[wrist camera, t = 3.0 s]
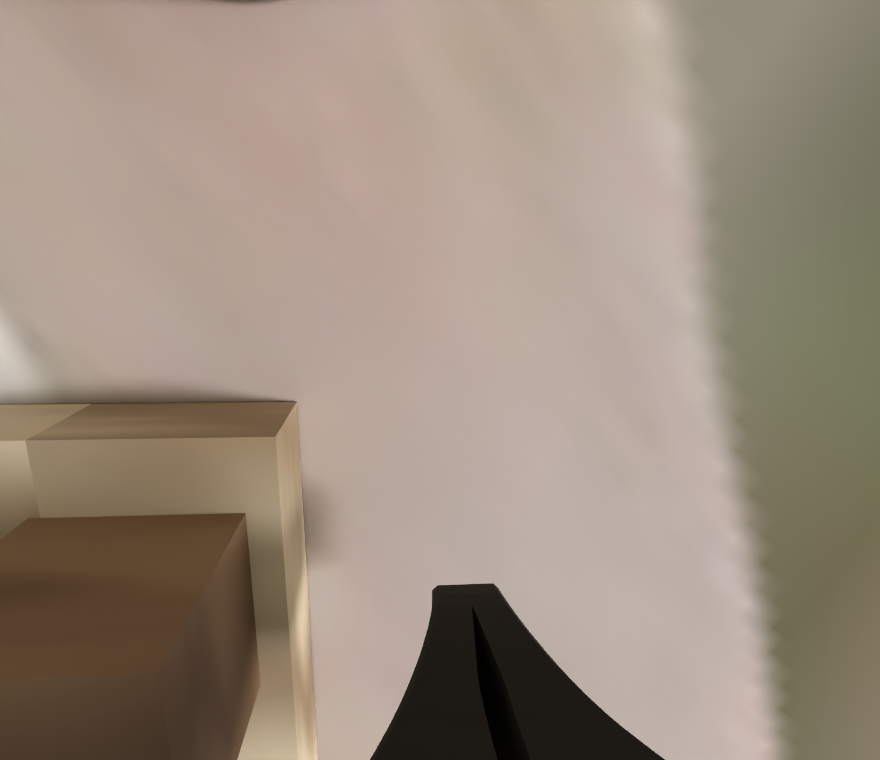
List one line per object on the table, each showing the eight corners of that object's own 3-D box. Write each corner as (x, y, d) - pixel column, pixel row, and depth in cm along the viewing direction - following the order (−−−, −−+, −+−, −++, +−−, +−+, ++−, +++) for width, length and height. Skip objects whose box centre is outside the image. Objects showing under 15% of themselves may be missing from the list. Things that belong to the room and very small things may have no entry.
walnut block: (260, 683, 13) (191, 907, 9) (63, 692, 13) (-111, 930, 8) (245, 512, 12) (157, 672, 8) (27, 518, 12) (-194, 688, 7)
